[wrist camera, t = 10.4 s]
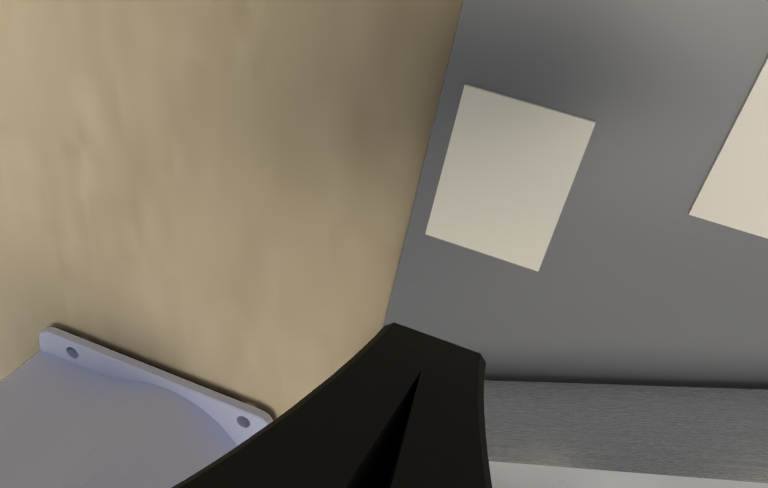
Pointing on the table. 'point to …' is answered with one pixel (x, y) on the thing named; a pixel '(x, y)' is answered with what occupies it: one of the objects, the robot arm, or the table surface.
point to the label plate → (598, 194)
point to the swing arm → (625, 436)
